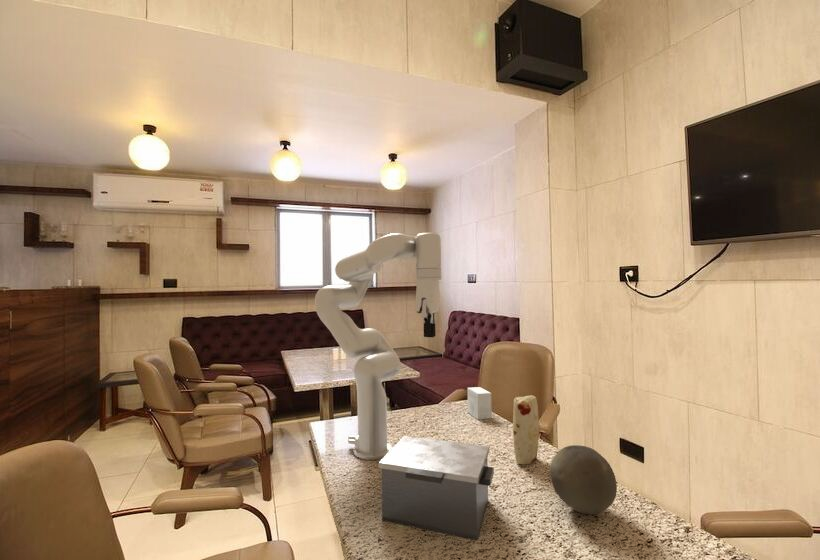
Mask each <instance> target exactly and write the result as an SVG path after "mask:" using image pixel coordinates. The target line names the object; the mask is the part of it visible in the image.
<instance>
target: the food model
mask: <svg viewBox="0 0 820 560" xmlns="http://www.w3.org/2000/svg"><path fill="white" fill-rule="evenodd" d="M512 413H513V417H512V438H513V449H514V456H515V458H514V459H515V461H516V463H517V464H518V465H529V464H532V463H534V462H536V461H537V458H538V449H539V439H540V438H539V437H540V423H539V422H540V421H539V419H540V418H539V407H538V400H537V397H536V396H535V395H531V394H530V395H525V396H515V397H514V398H513V411H512Z"/></svg>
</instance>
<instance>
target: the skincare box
mask: <svg viewBox="0 0 820 560" xmlns="http://www.w3.org/2000/svg"><path fill="white" fill-rule="evenodd" d="M466 389H467V413H468V414H469V413H470V414H469V415H471V416H472V417H474V418H475V419H477V420H486V419H492V392H490V391H488V390H486V389H484V388H482V387H481V386H479V387H478V386H475V387H474V386H473V387H467V388H466Z"/></svg>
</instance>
